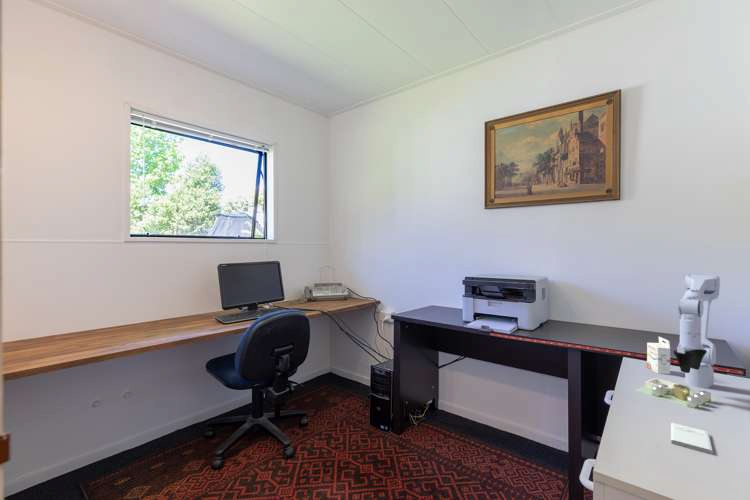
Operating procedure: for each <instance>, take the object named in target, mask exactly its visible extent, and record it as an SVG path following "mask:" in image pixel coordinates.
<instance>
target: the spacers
mask: <svg viewBox="0 0 750 500" xmlns="http://www.w3.org/2000/svg"><path fill="white" fill-rule="evenodd" d="M652 395H653V396H652V397H654V396H656V397H655V398H657V397H663V395H668V385H665V384H658V386H655V385H653V386H652ZM711 397H712V393H711V392H709V391H706V390H698V393H696V392H694V393H693V396H687V406H688V407H690V408H689V409H691V408H695V409H697V410H699V409H700V408H699V405H700V406H703V407H706V405H705V403H710V404H712V403H711ZM688 407H687V408H688ZM695 409H694V410H695Z"/></svg>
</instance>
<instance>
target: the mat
mask: <svg viewBox="0 0 750 500" xmlns="http://www.w3.org/2000/svg"><path fill="white" fill-rule="evenodd" d="M634 391H635V392H638V393H641V394H644V395H648V396H651V397H653V398H658V399H660V400H664V401H666V402H670V403H673V404H676V405H679V406H683V407H686V408H689V409H692V410H695V411H696V410H698V409H695V408H690V407H688V406H687V400H680V399H676V398H674V396H673V393H671V394H670V393H668V395H663V397H656V396H653V395H652V388H650V387H646V386H645V385H644V386H642V387H639V388H636V389H634ZM693 393H695V392H693V391H690V396H693ZM716 401H719V399H717V398H714V397H712V396H711V403H705V406H707V405H709V404H712V403H714V402H716ZM703 407H704V406H700V405H699V409H701V408H703Z"/></svg>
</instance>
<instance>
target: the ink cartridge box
mask: <svg viewBox="0 0 750 500" xmlns="http://www.w3.org/2000/svg"><path fill="white" fill-rule="evenodd" d="M670 343H671V342H670V341H669V340H668V339H666V338H664V337H661V336H658V342H647V343H646V348H647V349H646V369H647V370H648V369H649V370H651V371H653V372H655V373H657V374H660V375H661V374H662V375H671V345H670Z"/></svg>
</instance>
